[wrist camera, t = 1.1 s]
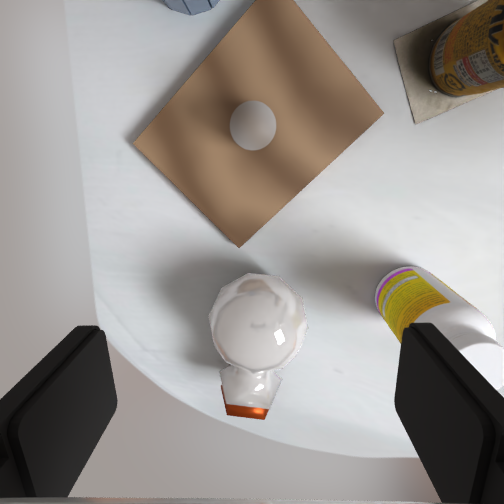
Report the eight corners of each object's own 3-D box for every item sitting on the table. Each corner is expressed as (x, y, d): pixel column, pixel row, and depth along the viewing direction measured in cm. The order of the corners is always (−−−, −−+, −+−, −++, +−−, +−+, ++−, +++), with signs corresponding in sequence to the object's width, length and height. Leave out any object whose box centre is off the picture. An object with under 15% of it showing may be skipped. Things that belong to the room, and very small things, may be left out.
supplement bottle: (364, 312, 36) (413, 397, 24) (386, 257, 34) (452, 319, 22) (422, 327, 37) (500, 418, 24) (447, 272, 35) (546, 342, 22)
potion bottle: (276, 250, 36) (261, 356, 42) (193, 265, 31) (189, 383, 37) (339, 292, 29) (309, 411, 35) (244, 320, 24) (229, 454, 30)
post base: (274, -16, 28) (276, -56, 22) (379, 114, 30) (404, 107, 25) (137, 143, 32) (111, 143, 26) (240, 244, 35) (234, 263, 29)
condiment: (511, 83, 29) (669, 42, 18) (414, 124, 30) (503, 112, 19) (493, -8, 27) (658, -119, 16) (391, 41, 28) (475, -29, 17)
